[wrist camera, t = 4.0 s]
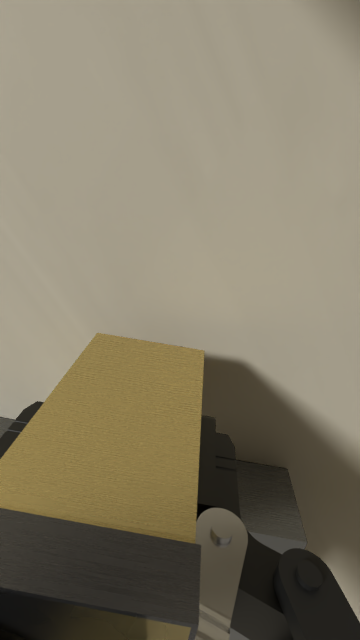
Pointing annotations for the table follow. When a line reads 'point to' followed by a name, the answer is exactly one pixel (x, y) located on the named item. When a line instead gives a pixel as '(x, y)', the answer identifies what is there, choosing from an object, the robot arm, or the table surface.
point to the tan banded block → (106, 500)
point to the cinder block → (259, 507)
